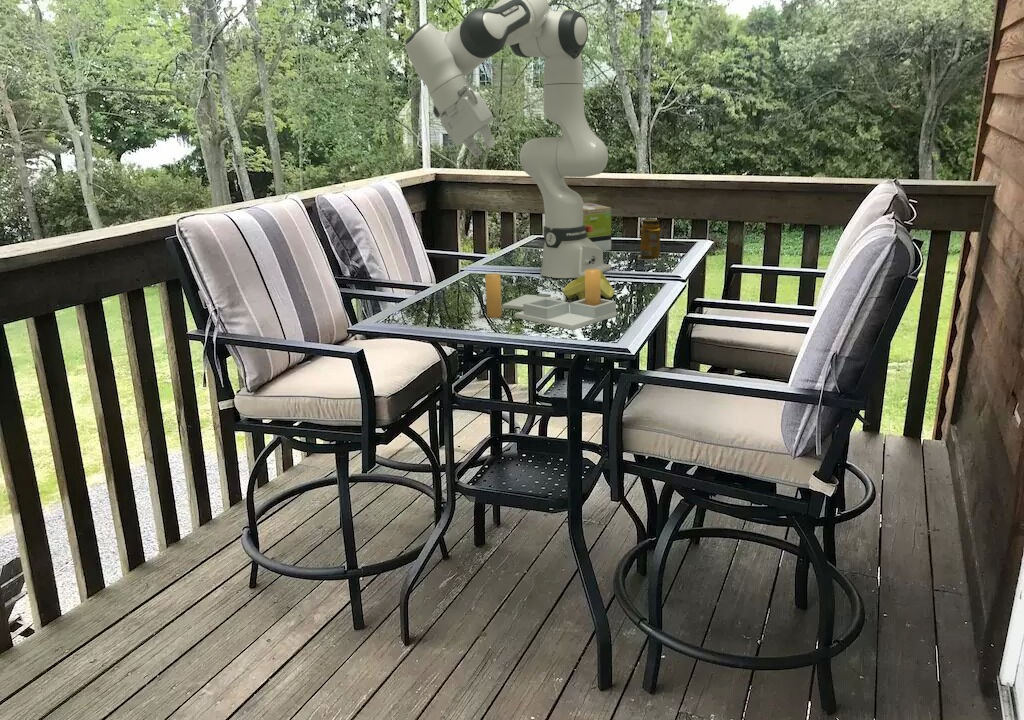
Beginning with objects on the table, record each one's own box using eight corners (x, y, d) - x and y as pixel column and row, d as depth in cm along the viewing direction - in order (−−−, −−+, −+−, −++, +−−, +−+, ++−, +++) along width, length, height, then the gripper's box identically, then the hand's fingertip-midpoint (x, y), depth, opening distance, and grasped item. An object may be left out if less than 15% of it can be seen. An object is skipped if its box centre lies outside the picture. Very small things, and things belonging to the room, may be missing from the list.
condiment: (661, 255, 264) (662, 218, 260) (660, 260, 256) (661, 222, 252) (638, 255, 265) (638, 218, 261) (637, 260, 257) (637, 222, 253)
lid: (528, 296, 215) (528, 292, 214) (562, 299, 210) (562, 295, 209) (502, 307, 204) (502, 303, 203) (537, 311, 199) (537, 307, 198)
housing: (559, 304, 205) (559, 261, 201) (616, 315, 192) (617, 269, 189) (515, 317, 194) (513, 271, 191) (572, 330, 182) (571, 281, 178)
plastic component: (569, 282, 219) (602, 266, 216) (581, 306, 220) (614, 291, 217) (559, 293, 200) (596, 276, 197) (572, 320, 201) (609, 303, 198)
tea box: (564, 247, 285) (564, 204, 280) (589, 244, 288) (589, 202, 284) (586, 253, 271) (586, 208, 267) (612, 250, 275) (612, 206, 271)
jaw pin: (494, 313, 198) (493, 272, 195) (505, 315, 196) (503, 274, 193) (483, 316, 196) (482, 275, 193) (494, 318, 194) (492, 277, 191)
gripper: (478, 76, 173) (511, 134, 176) (453, 102, 193) (483, 154, 195) (454, 89, 172) (488, 148, 174) (431, 114, 191) (461, 167, 194)
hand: (485, 151), depth 185 cm, fingers open, 8 cm apart
